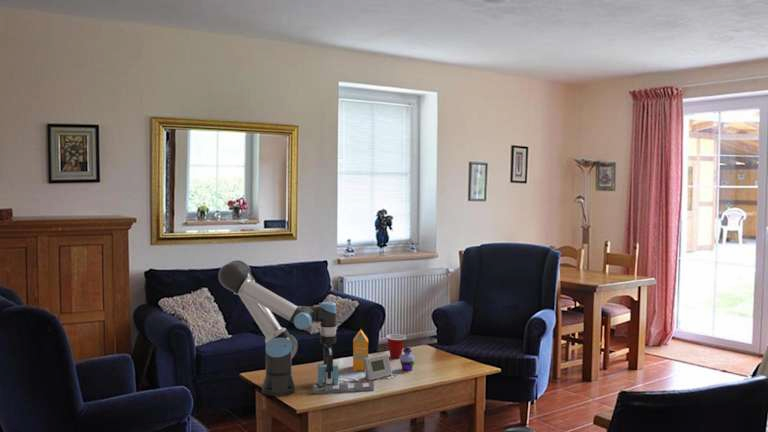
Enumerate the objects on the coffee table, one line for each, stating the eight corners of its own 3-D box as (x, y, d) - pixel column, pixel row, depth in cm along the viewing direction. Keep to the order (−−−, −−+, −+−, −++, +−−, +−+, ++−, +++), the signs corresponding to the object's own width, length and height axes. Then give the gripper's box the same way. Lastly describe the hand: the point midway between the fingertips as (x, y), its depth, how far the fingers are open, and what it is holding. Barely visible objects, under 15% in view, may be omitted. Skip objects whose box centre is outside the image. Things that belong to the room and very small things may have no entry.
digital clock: (368, 382, 326) (368, 360, 326) (358, 377, 334) (358, 356, 333) (396, 377, 335) (396, 356, 334) (386, 372, 342) (386, 352, 342)
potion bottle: (412, 372, 343) (412, 349, 342) (396, 370, 346) (396, 347, 345) (417, 368, 351) (418, 345, 350) (402, 366, 354) (402, 344, 353)
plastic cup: (393, 361, 365) (393, 339, 365) (382, 356, 374) (382, 335, 374) (409, 358, 371) (410, 336, 371) (398, 354, 380) (398, 333, 380)
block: (319, 385, 318) (319, 366, 318) (317, 383, 323) (317, 364, 322) (338, 384, 321) (338, 365, 320) (336, 381, 325) (336, 363, 325)
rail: (313, 394, 306) (313, 386, 305) (312, 392, 308) (312, 384, 308) (373, 390, 313) (373, 382, 312) (372, 388, 315) (372, 381, 315)
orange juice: (368, 366, 354) (368, 328, 353) (367, 371, 345) (368, 332, 344) (353, 366, 354) (353, 328, 353) (352, 370, 345) (353, 332, 344)
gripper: (339, 338, 313) (339, 388, 314) (332, 330, 330) (332, 377, 331) (323, 339, 311) (323, 389, 312) (317, 331, 328) (317, 378, 329)
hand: (327, 383), depth 322 cm, fingers closed on block, 4 cm apart
